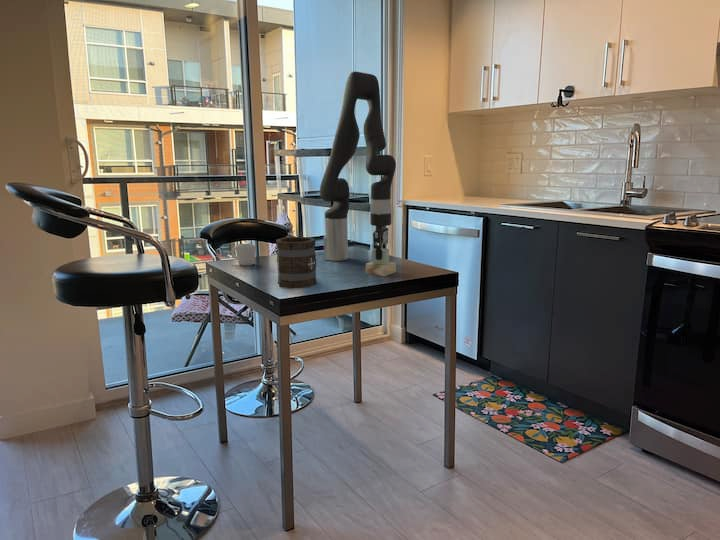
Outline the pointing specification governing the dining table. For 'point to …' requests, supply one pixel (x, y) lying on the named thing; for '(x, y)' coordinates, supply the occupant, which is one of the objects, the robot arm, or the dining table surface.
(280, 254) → the mug
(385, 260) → the sage cube
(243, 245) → the cup
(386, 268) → the maple block
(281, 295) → the dining table surface
